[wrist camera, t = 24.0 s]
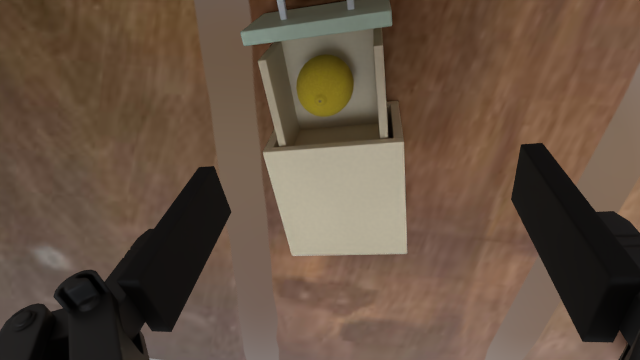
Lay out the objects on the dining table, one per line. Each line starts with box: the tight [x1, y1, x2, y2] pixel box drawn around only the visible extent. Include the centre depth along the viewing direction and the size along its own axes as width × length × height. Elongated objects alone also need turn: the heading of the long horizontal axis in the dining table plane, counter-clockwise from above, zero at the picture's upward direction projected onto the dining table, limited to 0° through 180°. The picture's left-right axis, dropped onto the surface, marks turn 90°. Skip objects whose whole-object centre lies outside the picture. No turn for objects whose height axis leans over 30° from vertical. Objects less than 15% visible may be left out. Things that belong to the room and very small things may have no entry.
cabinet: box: [263, 101, 407, 256], centre depth 43 cm, size 15×14×10 cm
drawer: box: [241, 0, 392, 147], centre depth 34 cm, size 20×13×8 cm, turn 9°
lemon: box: [296, 54, 354, 117], centre depth 35 cm, size 6×6×8 cm
